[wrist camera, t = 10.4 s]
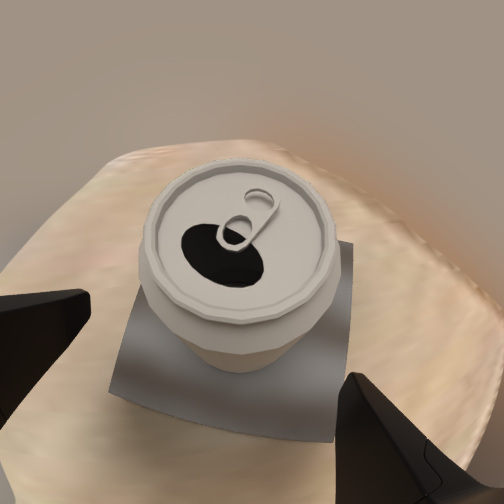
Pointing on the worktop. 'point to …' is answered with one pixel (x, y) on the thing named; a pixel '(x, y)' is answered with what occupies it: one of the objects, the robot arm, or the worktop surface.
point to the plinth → (241, 375)
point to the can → (239, 261)
